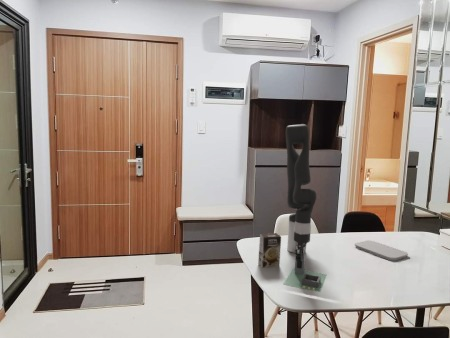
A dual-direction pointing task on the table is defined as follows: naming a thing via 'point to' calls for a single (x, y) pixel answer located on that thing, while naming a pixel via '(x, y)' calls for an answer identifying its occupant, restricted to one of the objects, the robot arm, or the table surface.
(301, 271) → the plug
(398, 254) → the tablet
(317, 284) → the board
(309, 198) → the robot arm
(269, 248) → the coffee box
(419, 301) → the table surface
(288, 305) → the table surface
